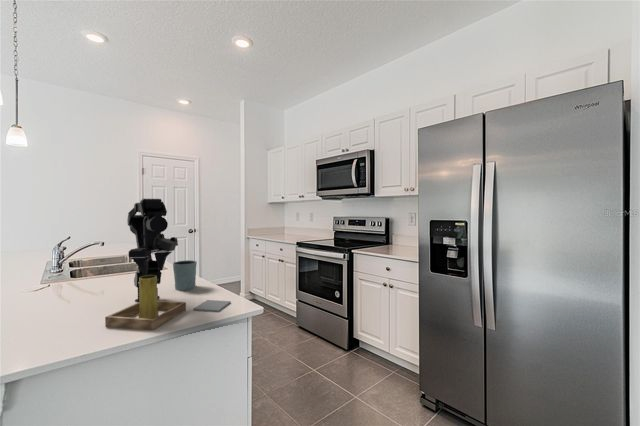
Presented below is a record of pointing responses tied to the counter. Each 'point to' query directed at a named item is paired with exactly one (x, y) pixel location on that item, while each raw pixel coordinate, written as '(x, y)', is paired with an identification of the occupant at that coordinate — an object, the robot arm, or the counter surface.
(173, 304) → the wooden frame
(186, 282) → the grey-blue cup
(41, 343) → the counter surface
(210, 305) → the slate mat
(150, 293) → the vase
